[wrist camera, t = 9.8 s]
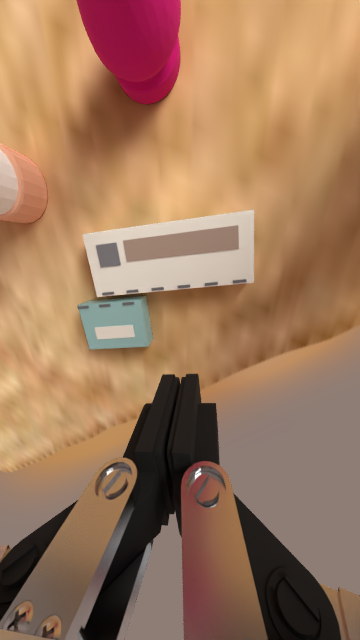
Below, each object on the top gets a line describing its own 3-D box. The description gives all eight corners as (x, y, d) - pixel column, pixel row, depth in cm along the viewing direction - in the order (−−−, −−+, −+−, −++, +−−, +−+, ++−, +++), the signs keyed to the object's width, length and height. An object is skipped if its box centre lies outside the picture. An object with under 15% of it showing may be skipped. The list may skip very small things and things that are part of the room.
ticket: (248, 213, 22) (254, 209, 20) (249, 279, 24) (254, 282, 22) (93, 235, 25) (81, 233, 22) (106, 292, 27) (96, 297, 24)
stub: (146, 295, 26) (139, 300, 24) (153, 338, 28) (148, 346, 26) (88, 300, 28) (77, 305, 25) (98, 341, 29) (89, 349, 27)
